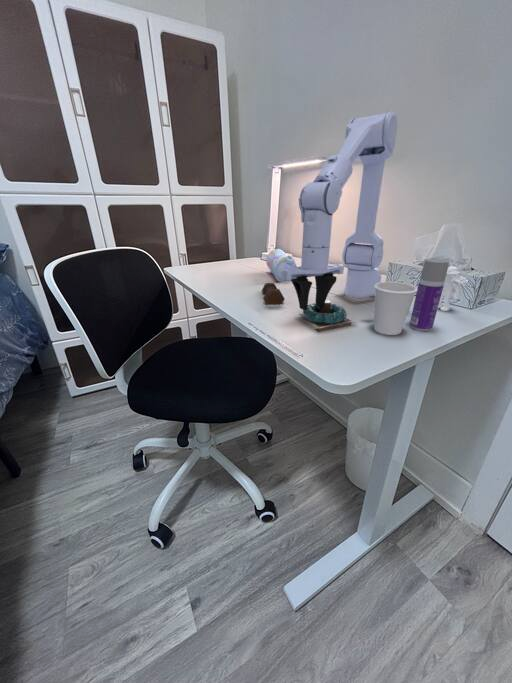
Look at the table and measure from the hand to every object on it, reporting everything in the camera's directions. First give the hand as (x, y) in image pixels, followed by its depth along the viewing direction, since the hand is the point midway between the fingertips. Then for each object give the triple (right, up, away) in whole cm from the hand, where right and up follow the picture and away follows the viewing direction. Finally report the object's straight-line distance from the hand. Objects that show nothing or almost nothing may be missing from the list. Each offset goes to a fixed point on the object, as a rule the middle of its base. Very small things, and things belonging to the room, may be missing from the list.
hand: (311, 307), depth 67 cm
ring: (+3, -1, +2) cm, 4 cm away
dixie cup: (+17, -5, -2) cm, 18 cm away
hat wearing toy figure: (+37, +1, +11) cm, 39 cm away
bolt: (-8, +4, +19) cm, 21 cm away
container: (+25, -5, 0) cm, 25 cm away
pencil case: (-3, +17, +46) cm, 49 cm away
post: (+4, -3, +3) cm, 6 cm away
